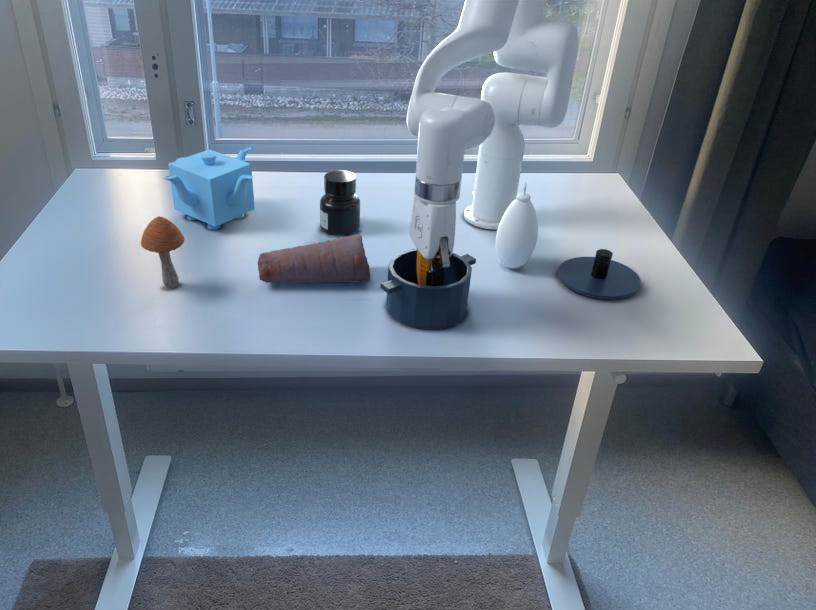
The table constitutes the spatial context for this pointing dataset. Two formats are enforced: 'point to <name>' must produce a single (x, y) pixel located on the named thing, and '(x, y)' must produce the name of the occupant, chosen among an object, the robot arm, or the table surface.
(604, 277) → the saucepan lid
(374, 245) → the table surface
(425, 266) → the carrot
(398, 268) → the saucepan
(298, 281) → the food
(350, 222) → the ink bottle
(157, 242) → the mushroom
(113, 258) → the table surface
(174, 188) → the teakettle
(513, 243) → the white egg-shaped bulb
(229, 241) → the table surface
